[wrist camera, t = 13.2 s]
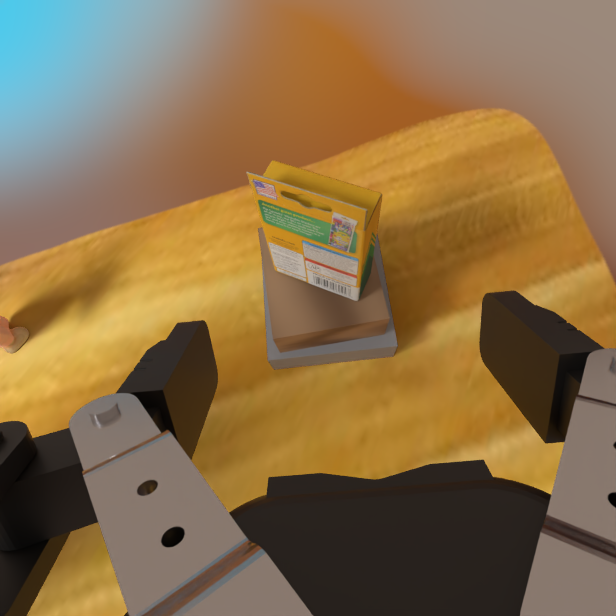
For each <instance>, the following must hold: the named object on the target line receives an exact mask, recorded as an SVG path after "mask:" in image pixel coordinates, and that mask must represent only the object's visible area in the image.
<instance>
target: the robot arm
mask: <svg viewBox="0 0 616 616" xmlns="http://www.w3.org/2000/svg"><path fill="white" fill-rule="evenodd" d="M480 353H481V357H482V360H483V362H484V364H485V366H486V367H487V368H488V369H489V371H490V372H491V373H492V375H493V376H494V377H495V379H496V380H497V381H498V382H499V384H500V385H501V386H502V388H503V389H504V390H505V391H506V393H507V394H508V395H509V397H510V398H511V399H512V401H513V402H514V403H515V404H516V406H517V407H518V408H519V410H520V411H521V412H522V414H523V415H524V416H525V417H526V419H527V420H528V421H529V423H530V424H531V425H532V427H533V428H534V429H535V430H536V432H537V433H538V434H539V436H540V437H541V438H542V440H543V441H544V442H545V443H556V442H565V443H564V447H563V451H562V455H561V459H560V463H559V467H558V471H557V475H556V479H555V483H554V487H553V491H552V495H550V494H548V493H546V492H544V491H542V490H539V489H537V488H534V487H532V486H529V485H526V484H523V483H519V482H516V481H512V480H508V479H503V478H497V477H492V475H491V473H490V471H489V469H488V467H487V465H486V464H485V462H484V460H475V461H462V462H450V463H438V464H429V465H426V466H422V467H419V468H416V469H412V470H409V471H406V472H402V473H399V474H396V475H393V476H389V477H386V478H383V479H376V480H373V479H364V478H356V477H348V476H340V475H332V474H323V473H316V474H304V475H292V476H280V477H269V478H268V487H267V495H264V496H261V497H258V498H256V499H254V500H251V501H249V502H247V503H245V504H243V505H241V506H239V507H237V508H236V509H234V510H233V511H231V512H230V513H228V511H227V510H226V508H225V507H224V506H223V504H222V503H221V501H220V500H219V499H218V497H217V496H216V495H215V493H214V492H213V490H212V489H211V488H210V486H209V485H208V483H207V482H206V481H205V479H204V478H203V476H202V475H201V474H200V472H199V471H198V470H197V468H196V467H195V465H194V464H193V463H192V461H191V459H192V456H193V454H194V451H195V448H196V445H197V442H198V439H199V437H200V434H201V431H202V428H203V425H204V422H205V420H206V417H207V414H208V411H209V408H210V405H211V403H212V400H213V397H214V394H215V391H216V388H217V383H218V373H217V366H216V362H215V357H214V353H213V348H212V344H211V339H210V335H209V330H208V327H207V324H206V322H205V321H203V320H202V321H192V322H182V323H177V324H176V326H175V327H174V329H173V330H172V332H171V333H170V335H169V336H168V338H167V339H166V340H164V341H160V342H158V343H157V344H156V345H154V346H153V347H151V348H150V349H149V350H147V352H146V353H145V354H144V356H143V357H142V358H141V360H140V362H139V363H138V364H137V365H136V367H135V368H134V371H132V372H131V373H130V375H129V376H128V377H127V379H126V380H125V382H124V383H123V384H122V386H121V387H120V388H119V390H118V391H117V392H116V394H111V395H107V396H103V397H101V398H98V399H96V400H94V401H91V402H90V403H88V404H86V405H85V406H83V407H82V408H80V409H79V410H78V411H77V412H76V413H75V414H74V415H73V416H72V418H71V419H70V422H69V428H67V429H64V430H61V431H57V432H53V433H50V434H46V435H43V436H39V437H36V438H32V436H31V434H30V431H29V429H28V427H27V425H26V424H25V423H23V422H19V421H9V422H3V423H0V616H27V614H28V612H29V610H30V608H31V606H32V604H33V602H34V601H35V599H36V597H37V595H38V593H39V591H40V589H41V587H42V585H43V584H44V582H45V580H46V578H47V576H48V574H49V572H50V570H51V568H52V566H53V565H54V563H55V561H56V559H57V557H58V555H59V553H60V551H61V549H62V548H63V546H64V544H65V542H66V540H67V538H68V536H69V534H70V532H71V531H73V530H76V529H79V528H82V527H85V526H88V525H91V524H94V523H97V522H99V525H100V528H101V531H102V535H103V538H104V541H105V544H106V547H107V550H108V553H109V556H110V559H111V562H112V565H113V568H114V571H115V574H116V577H117V580H118V583H119V586H120V589H121V592H122V595H123V598H124V601H125V604H126V607H127V610H128V612H127V613H126V614H125V615H124V616H616V349H611V348H609V349H605V348H603V347H602V346H600V345H599V344H598V343H596V342H595V341H594V340H592V339H591V338H589V337H588V336H587V335H585V334H584V333H582V332H581V331H580V330H577V328H576V327H574V326H573V325H571V324H570V323H567V321H566V320H564V319H563V318H562V317H560V316H559V315H558V314H556V313H555V312H553V311H550V310H547V309H545V308H542V307H539V306H537V305H534V304H532V303H531V302H530V301H528V300H527V299H526V298H524V297H523V296H522V295H520V294H519V293H518V292H516V291H505V292H494V293H487V294H485V296H484V298H483V302H482V315H481V329H480Z"/></svg>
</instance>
